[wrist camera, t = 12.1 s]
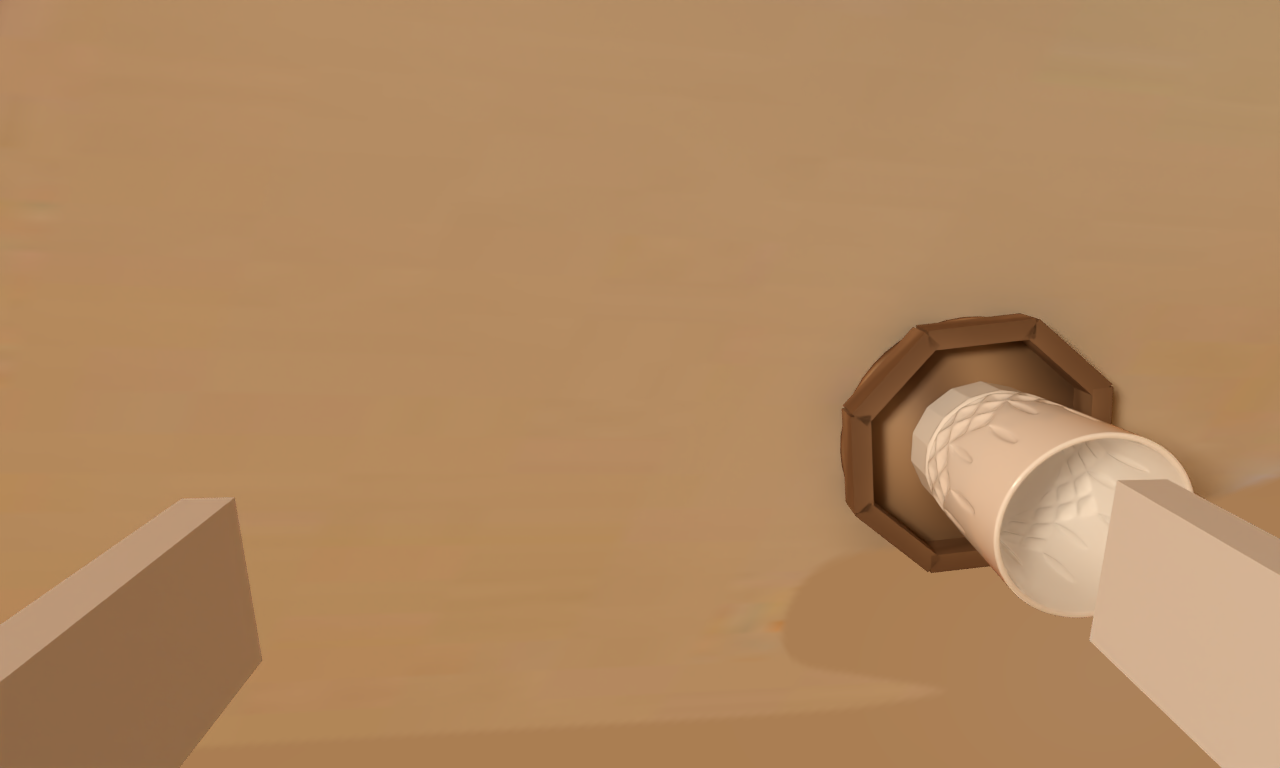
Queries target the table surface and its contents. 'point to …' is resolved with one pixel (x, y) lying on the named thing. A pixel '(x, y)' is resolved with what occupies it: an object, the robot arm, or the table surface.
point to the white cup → (1032, 486)
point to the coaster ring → (919, 377)
